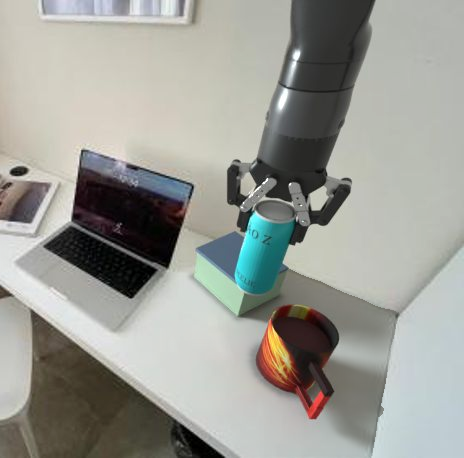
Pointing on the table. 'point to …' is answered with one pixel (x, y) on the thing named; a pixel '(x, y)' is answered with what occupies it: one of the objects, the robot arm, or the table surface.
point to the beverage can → (264, 246)
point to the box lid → (226, 254)
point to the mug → (298, 353)
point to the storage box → (231, 288)
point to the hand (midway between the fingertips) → (267, 235)
